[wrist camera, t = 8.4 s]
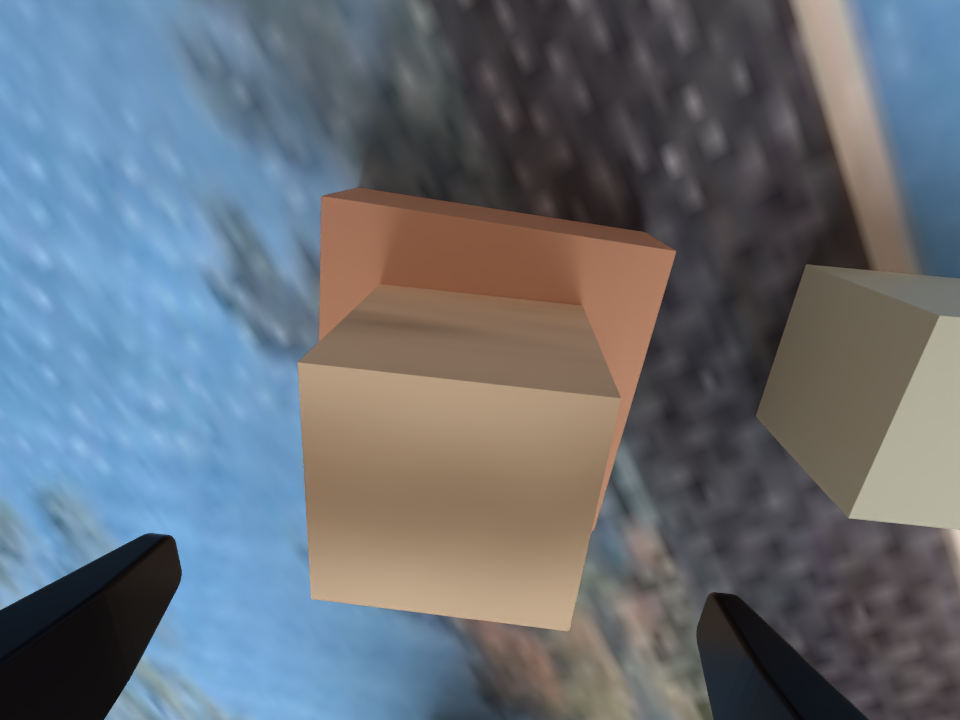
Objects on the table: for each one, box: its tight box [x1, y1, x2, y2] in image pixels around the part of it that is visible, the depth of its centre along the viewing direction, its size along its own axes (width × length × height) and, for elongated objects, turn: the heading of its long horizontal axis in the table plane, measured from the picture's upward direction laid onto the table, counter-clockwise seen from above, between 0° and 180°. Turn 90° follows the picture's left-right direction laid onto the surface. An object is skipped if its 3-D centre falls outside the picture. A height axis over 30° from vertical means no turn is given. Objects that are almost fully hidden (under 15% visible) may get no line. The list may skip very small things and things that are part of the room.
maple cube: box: [298, 284, 621, 631], centre depth 13 cm, size 6×6×6 cm
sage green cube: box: [756, 264, 960, 530], centre depth 16 cm, size 6×6×6 cm
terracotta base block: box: [319, 187, 676, 531], centre depth 18 cm, size 10×10×4 cm
